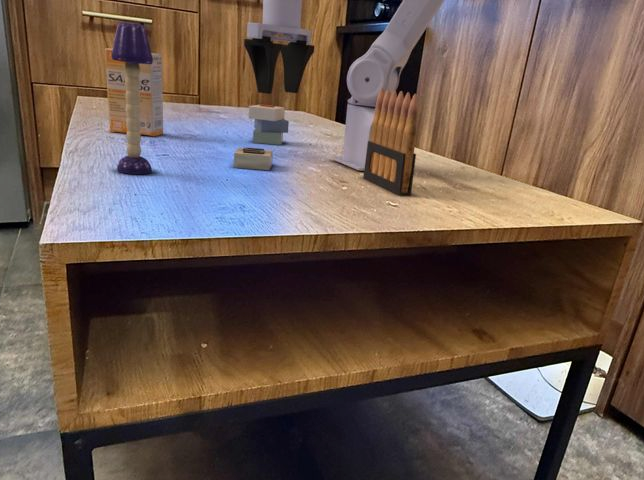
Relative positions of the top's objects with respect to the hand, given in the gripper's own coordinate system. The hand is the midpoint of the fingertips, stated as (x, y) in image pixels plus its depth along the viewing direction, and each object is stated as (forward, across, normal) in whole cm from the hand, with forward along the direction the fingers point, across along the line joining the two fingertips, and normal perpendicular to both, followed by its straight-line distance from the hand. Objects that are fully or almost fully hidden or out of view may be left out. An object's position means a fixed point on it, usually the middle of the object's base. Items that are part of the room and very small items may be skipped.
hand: (278, 92), depth 94 cm
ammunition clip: (+9, +9, +24) cm, 27 cm away
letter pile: (+9, -10, -8) cm, 16 cm away
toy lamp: (+9, +29, -2) cm, 30 cm away
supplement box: (+9, +4, -26) cm, 28 cm away
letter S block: (+9, +12, +4) cm, 16 cm away
